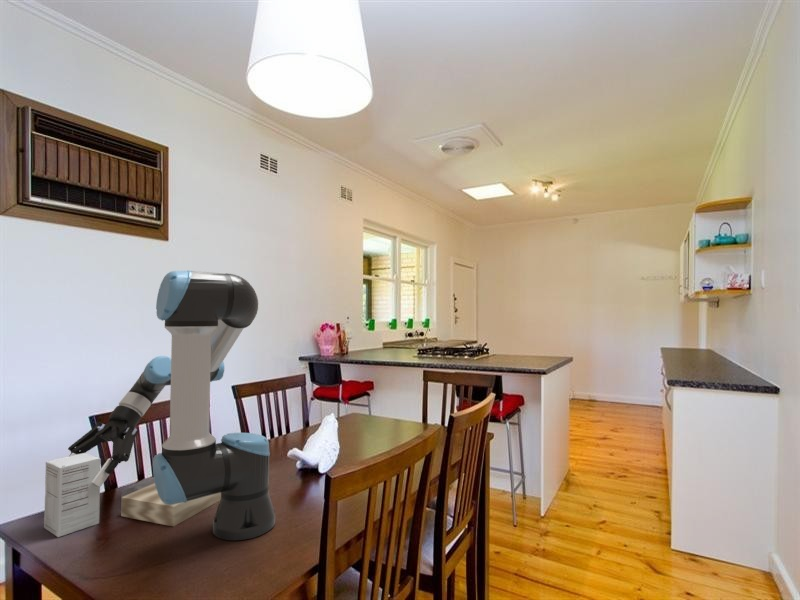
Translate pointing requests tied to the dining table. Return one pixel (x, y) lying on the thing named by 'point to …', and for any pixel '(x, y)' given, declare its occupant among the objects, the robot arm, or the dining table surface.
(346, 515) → the dining table surface
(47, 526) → the supplement box
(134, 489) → the grey block
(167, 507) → the birch stacking block
